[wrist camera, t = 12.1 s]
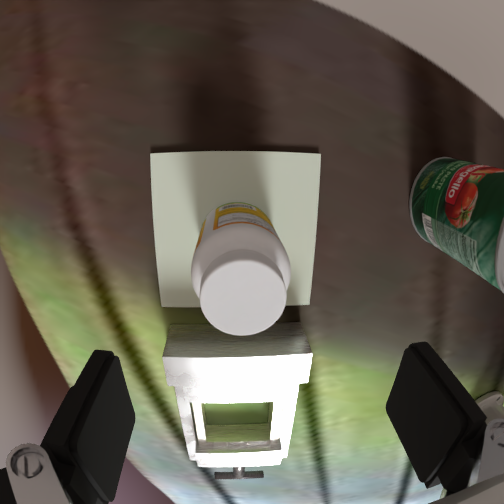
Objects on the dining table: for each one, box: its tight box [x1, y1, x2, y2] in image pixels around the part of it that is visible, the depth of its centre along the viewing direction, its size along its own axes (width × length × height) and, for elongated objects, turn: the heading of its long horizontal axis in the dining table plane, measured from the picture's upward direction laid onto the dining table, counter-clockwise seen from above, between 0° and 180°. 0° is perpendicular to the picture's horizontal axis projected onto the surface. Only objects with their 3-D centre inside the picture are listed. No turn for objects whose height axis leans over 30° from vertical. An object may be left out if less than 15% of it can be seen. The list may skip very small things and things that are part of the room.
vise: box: [162, 322, 312, 479], centre depth 28 cm, size 12×23×4 cm, turn 179°
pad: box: [150, 151, 321, 307], centre depth 24 cm, size 12×12×1 cm
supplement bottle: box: [191, 201, 291, 336], centre depth 19 cm, size 5×5×10 cm
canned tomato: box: [409, 157, 504, 293], centre depth 19 cm, size 8×8×11 cm
